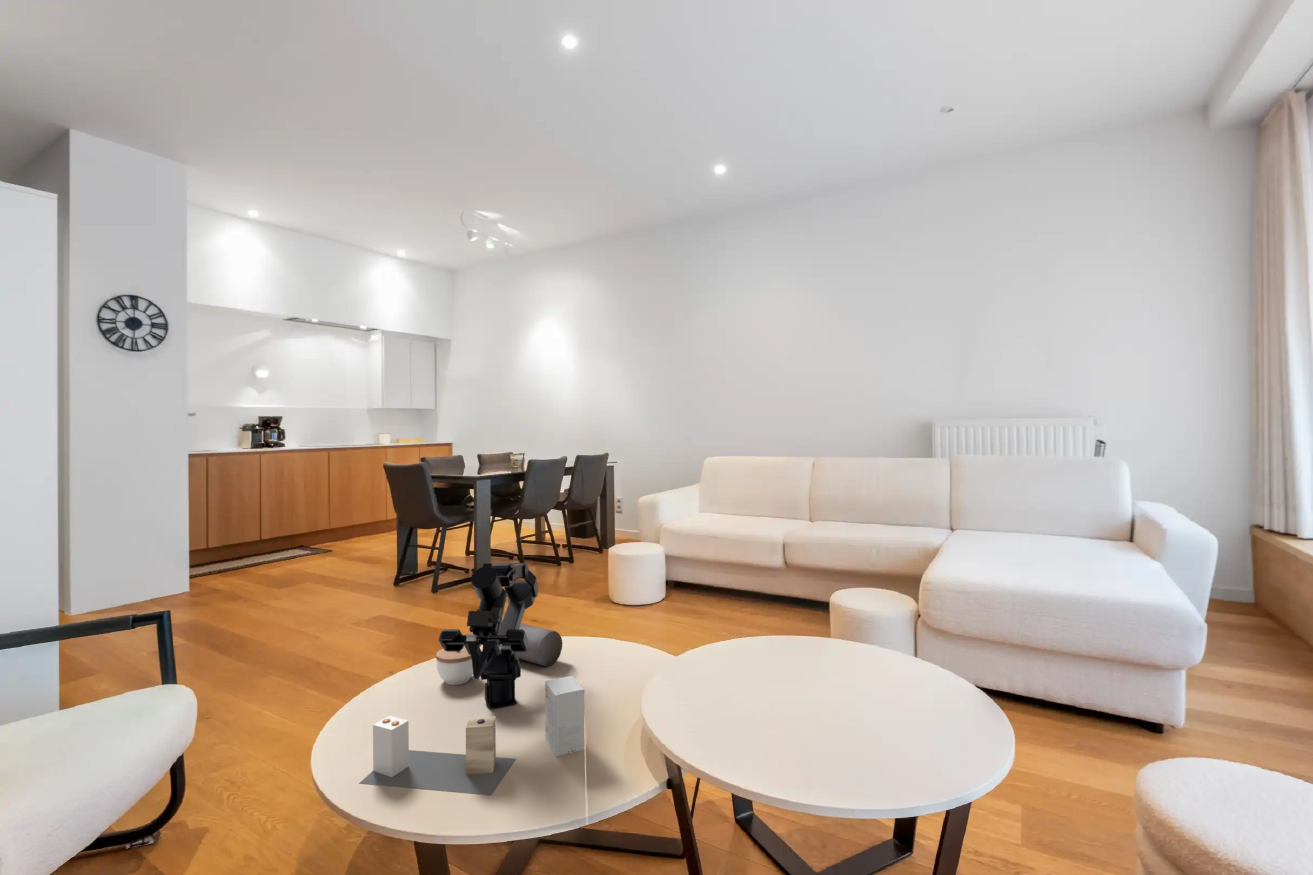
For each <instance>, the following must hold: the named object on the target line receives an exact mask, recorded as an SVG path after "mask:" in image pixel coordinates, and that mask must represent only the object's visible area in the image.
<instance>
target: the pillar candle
mask: <svg viewBox="0 0 1313 875" xmlns="http://www.w3.org/2000/svg"><path fill="white" fill-rule="evenodd" d="M519 629H523V630H524V631H525V633H526V636H527V638H528V648H527V651H525V652H516V655H517V657H518V659H519V660H523V661H526V662H529V663H533V664H537V665H539V666H544V667H551V666H552V665H554V664H555V663H556V662H557V661H558V659H560V656H561V653H562V650H563V638H562V636H561V634H560V633H559V632H557V631H556V630H552V629H548V628H544V627H543V628H542V627H538V626H533V625H530V624H526V623H522V622H521V624H520V627H519Z"/></svg>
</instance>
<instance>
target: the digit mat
mask: <svg viewBox="0 0 1313 875" xmlns="http://www.w3.org/2000/svg"><path fill="white" fill-rule="evenodd" d="M516 760H517V758H514V757H512V758H510V757H501V756H500V757H499V756H496V762H495V766H494V770H493V773H483V774H470V775H466V754H464V753H463V754H461V753H453V752H452V753H448V752H437V751H436V752H435V751H425V750H413V749H409V766H408V767H407V768H405V769H404V770H402V771H401V772H399V773H398V774H396V775H395V776H393V777H390V776H387V775H384V774H381V773H378V772H374V771H373V770H372V771H371V772H369V774H368V775H366V776H365V777H364V778H363V779H362V780H361V781H360V782H359V783H358V784H361V785H372V786H382V787H391V788H392V787H393V788H403V789H413V790H414V789H417V790H428V791H436V792H437V791H438V792H440V791H441V792H449V793H450V792H452V793H461V794H462V793H463V794H471V795H483V796H492V795H493V794H494V792H495V790H496V789H497V787H498V786H499V785H500V783H501V782H502V780H503V779H504V778H505V776H506V775H507V773H508V772H509V770H510V769H511V767H512V766H513V765H514V763H515V762H516Z"/></svg>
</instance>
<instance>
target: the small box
mask: <svg viewBox="0 0 1313 875" xmlns="http://www.w3.org/2000/svg"><path fill="white" fill-rule="evenodd" d="M544 682H545V683H544V692H545V693H544V695H545V696H544V697H545V698H544V699H545V700H544V708H545V709H544V713H545V715H544V716H545V718H544V720H545V721H544V722H545V723H544V725H545V726H544V727H545V729H544V733H545V734H544V736H545V737H544V739H545V742H546V743H547V745H548V747H549V748H550V750H551V752H552V754H553V755H554V757H560V756H564V755H568V754H572V753H576V752H579V751H585V689H584V688H583V687H582V685H581V684H580V683H579V681H577V680H576V679H575V677H574V676H573V675H571V676H564V677H559V678H553V679H547V680H545V681H544Z"/></svg>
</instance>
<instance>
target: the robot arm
mask: <svg viewBox="0 0 1313 875" xmlns="http://www.w3.org/2000/svg"><path fill="white" fill-rule="evenodd" d="M518 579H524V580H518ZM470 582H471V584H472V587H473V590H474V592H475V593H476V596H477V598H478V599H480V602H479V606H478V608H477V609H476V610H469V611H467V620H466V627H469V629H468V630H469V634H468V633H466V635H465V634H462V632H461V630H460V629H456V628H455V629H454V628H450V629H447V628H446V629H443V630H442V631H441V632H440V634H439V636H438V642H439V644H440V645H441V647H442V649H444V650H445V651H447V652H459V651H460V650H462V649H463V647H464V646H465V648H466V650H467V652H468V654H469V655H471V658H472V667H473V675H472V676H473V679H474V680H479V679H480V680H481V681H484V680H486V682H485V683H484V701H485V704H486V705H487V706H488V708H489V709H491V710H492V709H497V708H503V707H507V706H512V705H516V704H517V699H516V681H517V679H519V678H521V676H522V674H521V662H520V659H519V658H518V657H517V655H516V652H525V651H527V648H528V638H527V636H526V633H525V631H524V630H523V629H519V627H520V624H521V623H522V620H523V617H524V614H525V611H526V610H527V609H529V608H530V607H532V606H533V605H534V602H535V600H536V598H537V597H538V595H539V584H538V580H537V576H536V575H535V574H534V573H533V572H531V571H530V569H529V564H527V563H525V562H484V563H483V564H482V567H480V568H478V569H476V570H475V571H473V573H472V574H471V576H470ZM506 603H508V604H507V608H506ZM505 608H506V611H505ZM504 611H505V614H504ZM481 646H482V649H481Z"/></svg>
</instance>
